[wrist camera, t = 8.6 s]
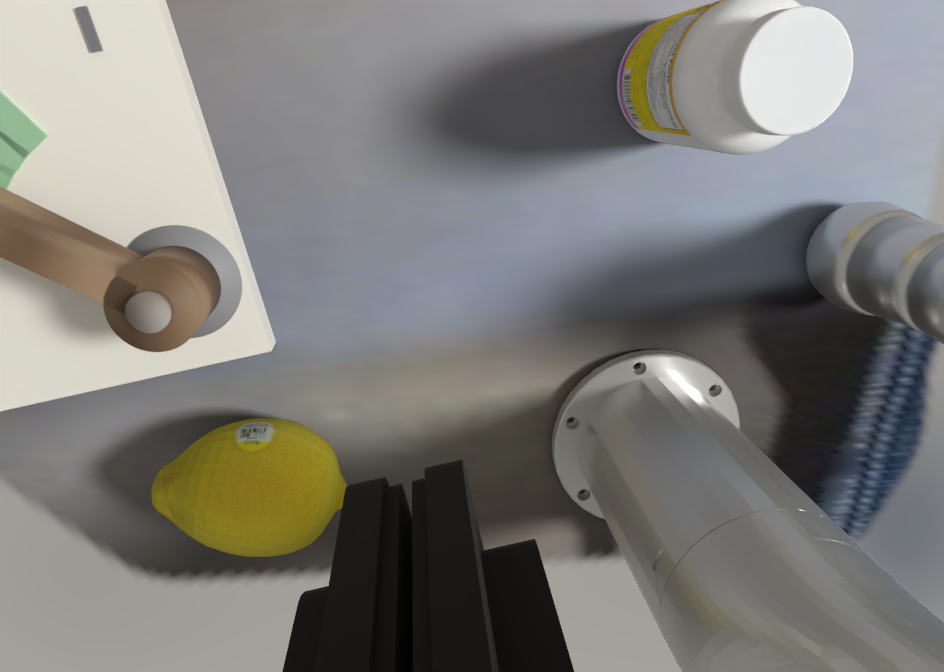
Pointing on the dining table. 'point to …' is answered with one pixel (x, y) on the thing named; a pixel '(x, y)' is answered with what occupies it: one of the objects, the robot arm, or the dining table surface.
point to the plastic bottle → (881, 264)
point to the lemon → (252, 488)
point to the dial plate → (110, 190)
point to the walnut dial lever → (113, 274)
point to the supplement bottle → (735, 75)
